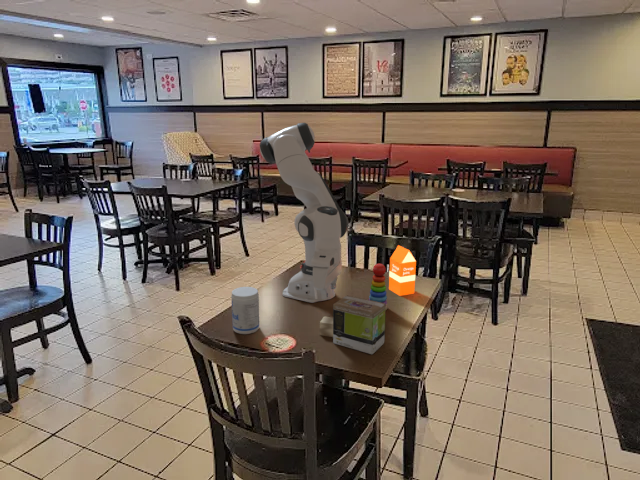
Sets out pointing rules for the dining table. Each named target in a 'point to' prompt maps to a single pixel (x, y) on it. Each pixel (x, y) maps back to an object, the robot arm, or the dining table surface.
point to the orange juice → (402, 272)
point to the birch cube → (326, 326)
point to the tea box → (359, 324)
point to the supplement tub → (245, 310)
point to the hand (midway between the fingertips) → (329, 293)
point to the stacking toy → (378, 285)
